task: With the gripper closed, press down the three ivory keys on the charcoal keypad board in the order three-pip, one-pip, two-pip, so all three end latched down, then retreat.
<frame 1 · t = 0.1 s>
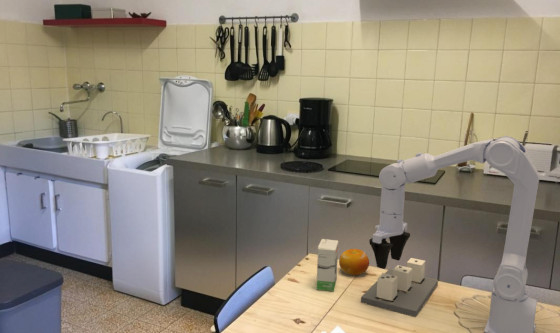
hand: (388, 263, 120), 10 cm above the table, fingers open, 7 cm apart
fruit: (353, 273, 139), on the table
ink box: (326, 285, 131), on the table
key one: (415, 269, 131), point 4 cm above the table, slide at 0.0 cm
keypad board: (401, 293, 126), on the table
key three: (387, 286, 120), point 4 cm above the table, slide at 0.0 cm
key two: (402, 277, 125), point 4 cm above the table, slide at 0.0 cm
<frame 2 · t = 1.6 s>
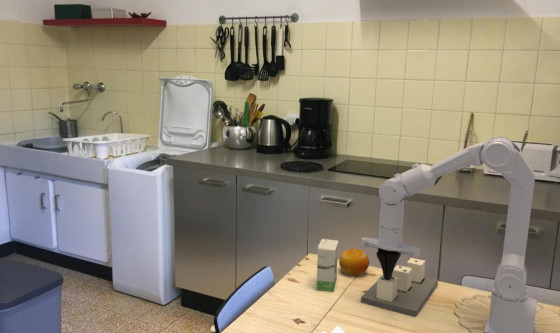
hand: (387, 278, 119), 7 cm above the table, fingers closed, pressing on key three
key three: (387, 287, 120), point 4 cm above the table, slide at 0.4 cm, touching gripper
everything else where it was.
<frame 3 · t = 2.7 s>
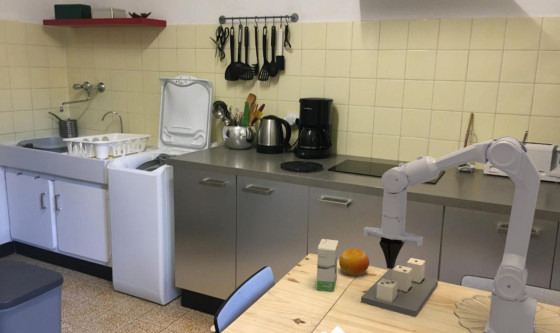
hand: (390, 267, 120), 9 cm above the table, fingers closed
key three: (386, 292, 120), point 3 cm above the table, slide at 1.5 cm
everything else where it was.
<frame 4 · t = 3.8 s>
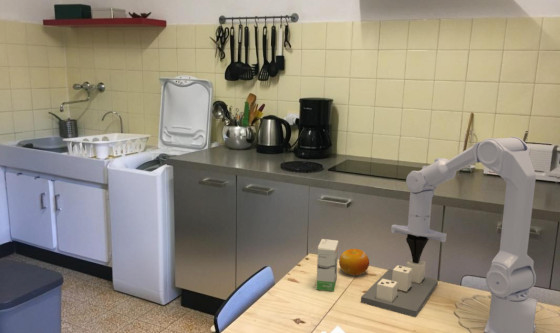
hand: (416, 261, 131), 7 cm above the table, fingers closed, pressing on key one
key one: (415, 270, 131), point 4 cm above the table, slide at 0.2 cm, touching gripper
everything else where it was.
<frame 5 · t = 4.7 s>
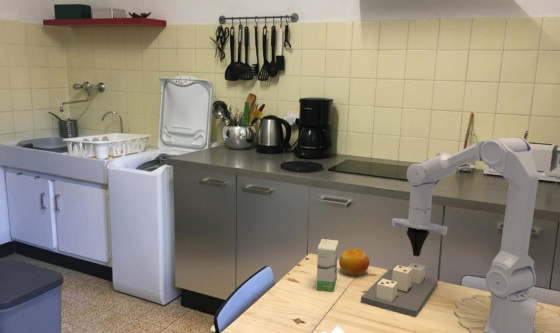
hand: (416, 255, 130), 9 cm above the table, fingers closed
key one: (415, 274, 131), point 3 cm above the table, slide at 1.5 cm
everything else where it was.
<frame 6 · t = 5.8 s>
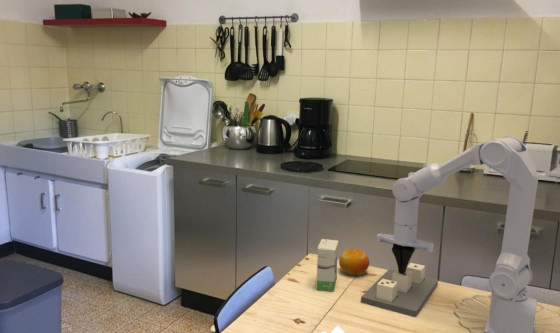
hand: (402, 272, 125), 6 cm above the table, fingers closed, pressing on key two
key two: (401, 281, 126), point 3 cm above the table, slide at 1.1 cm, touching gripper
everything else where it was.
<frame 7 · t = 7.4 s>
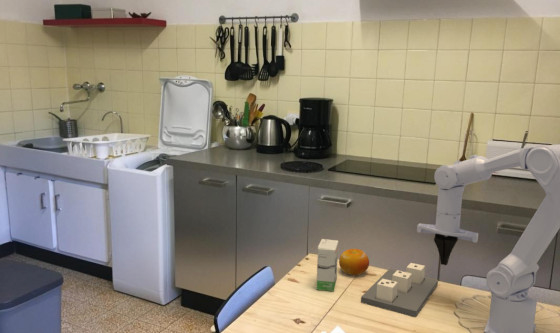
hand: (444, 263, 121), 10 cm above the table, fingers closed
key two: (401, 282, 126), point 3 cm above the table, slide at 1.5 cm
everything else where it was.
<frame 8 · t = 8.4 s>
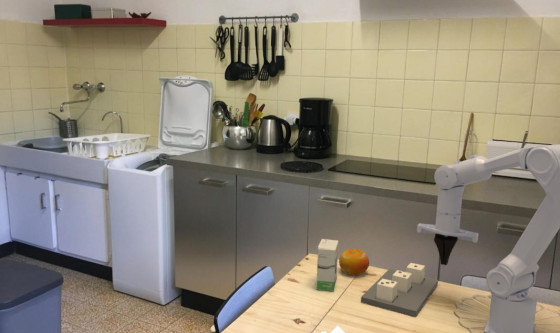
hand: (444, 263, 121), 10 cm above the table, fingers closed
nothing on the table moved.
at the end: key three slide at 1.5 cm; key one slide at 1.5 cm; key two slide at 1.5 cm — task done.
